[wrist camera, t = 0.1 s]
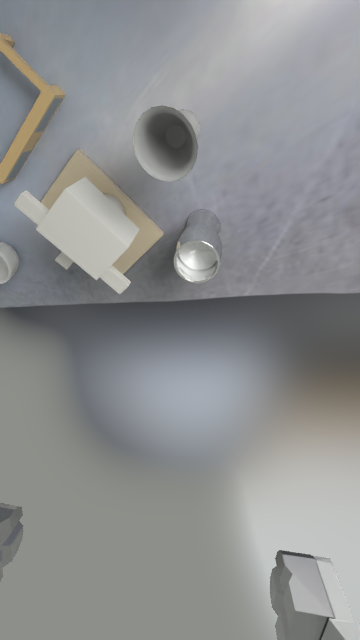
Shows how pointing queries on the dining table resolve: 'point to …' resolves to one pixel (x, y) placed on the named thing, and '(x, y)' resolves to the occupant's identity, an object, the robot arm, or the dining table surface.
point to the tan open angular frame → (35, 118)
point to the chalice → (166, 142)
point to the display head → (91, 222)
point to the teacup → (7, 262)
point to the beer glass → (199, 248)
